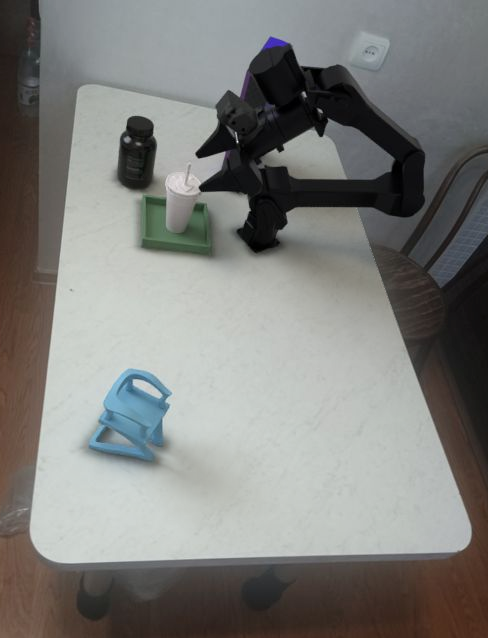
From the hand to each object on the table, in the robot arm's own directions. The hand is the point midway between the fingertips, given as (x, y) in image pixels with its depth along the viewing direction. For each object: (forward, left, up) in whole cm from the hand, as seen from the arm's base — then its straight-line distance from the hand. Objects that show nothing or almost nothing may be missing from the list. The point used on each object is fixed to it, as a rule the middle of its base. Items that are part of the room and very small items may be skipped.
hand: (198, 172), depth 91 cm
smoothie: (+2, -1, -12) cm, 12 cm away
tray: (+2, -1, -13) cm, 13 cm away
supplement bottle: (+2, -16, -13) cm, 21 cm away
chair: (+30, +33, -13) cm, 46 cm away
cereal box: (-22, -13, -13) cm, 29 cm away
